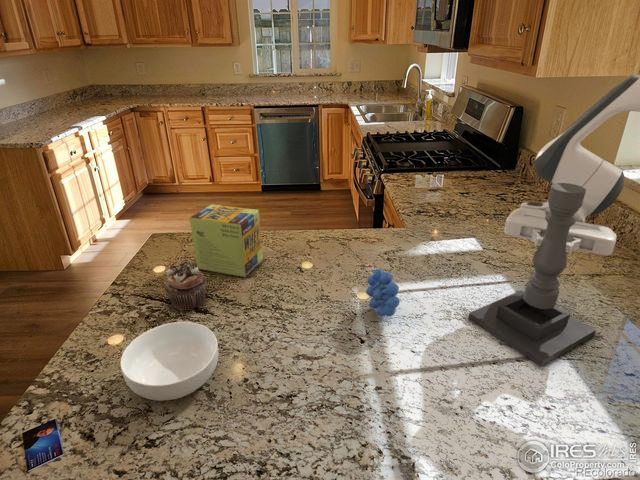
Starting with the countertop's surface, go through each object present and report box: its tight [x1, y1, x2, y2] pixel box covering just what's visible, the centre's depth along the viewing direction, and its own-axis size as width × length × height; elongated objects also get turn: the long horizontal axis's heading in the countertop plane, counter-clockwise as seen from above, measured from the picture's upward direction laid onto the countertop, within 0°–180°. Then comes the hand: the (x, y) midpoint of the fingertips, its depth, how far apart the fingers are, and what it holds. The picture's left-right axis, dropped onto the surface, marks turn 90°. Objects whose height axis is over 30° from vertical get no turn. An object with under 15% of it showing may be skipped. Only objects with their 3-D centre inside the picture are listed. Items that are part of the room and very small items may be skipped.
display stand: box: [468, 289, 597, 367], centre depth 91 cm, size 18×18×4 cm
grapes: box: [365, 268, 401, 318], centre depth 94 cm, size 12×7×12 cm, turn 24°
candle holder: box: [523, 183, 586, 309], centre depth 84 cm, size 6×6×25 cm
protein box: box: [189, 204, 264, 278], centre depth 116 cm, size 10×15×16 cm
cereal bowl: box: [119, 321, 220, 402], centre depth 78 cm, size 17×17×7 cm
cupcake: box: [163, 261, 207, 311], centre depth 101 cm, size 10×10×10 cm
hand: (552, 246), depth 83 cm, fingers closed on candle holder, 4 cm apart
